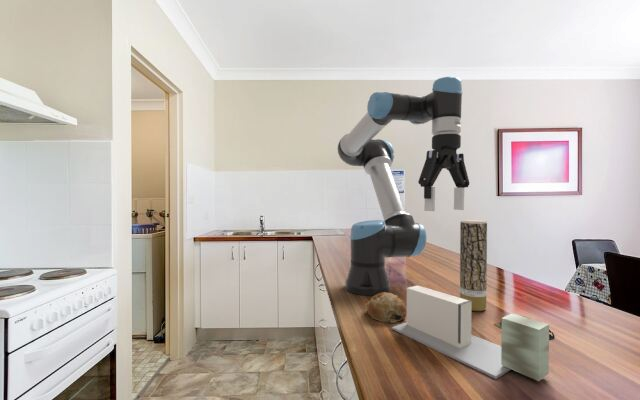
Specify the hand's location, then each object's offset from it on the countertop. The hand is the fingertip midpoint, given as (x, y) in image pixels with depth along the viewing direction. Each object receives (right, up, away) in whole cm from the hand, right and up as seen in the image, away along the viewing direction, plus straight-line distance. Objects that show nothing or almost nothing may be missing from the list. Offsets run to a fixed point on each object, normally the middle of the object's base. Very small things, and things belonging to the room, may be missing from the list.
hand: (444, 210), depth 86 cm
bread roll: (-18, -28, -4) cm, 34 cm away
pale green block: (+1, -27, -31) cm, 42 cm away
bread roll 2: (+13, -29, -14) cm, 35 cm away
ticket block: (-7, -28, -19) cm, 35 cm away
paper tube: (+9, -28, +1) cm, 30 cm away
